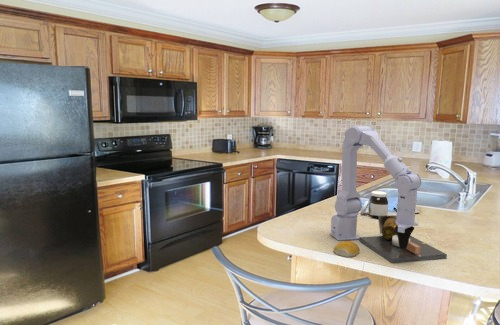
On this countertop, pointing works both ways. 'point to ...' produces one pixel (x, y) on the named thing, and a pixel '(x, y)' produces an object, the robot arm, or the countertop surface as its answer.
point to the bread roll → (346, 249)
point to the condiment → (387, 226)
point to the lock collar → (410, 246)
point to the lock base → (401, 250)
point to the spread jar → (377, 204)
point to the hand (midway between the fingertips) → (403, 247)
